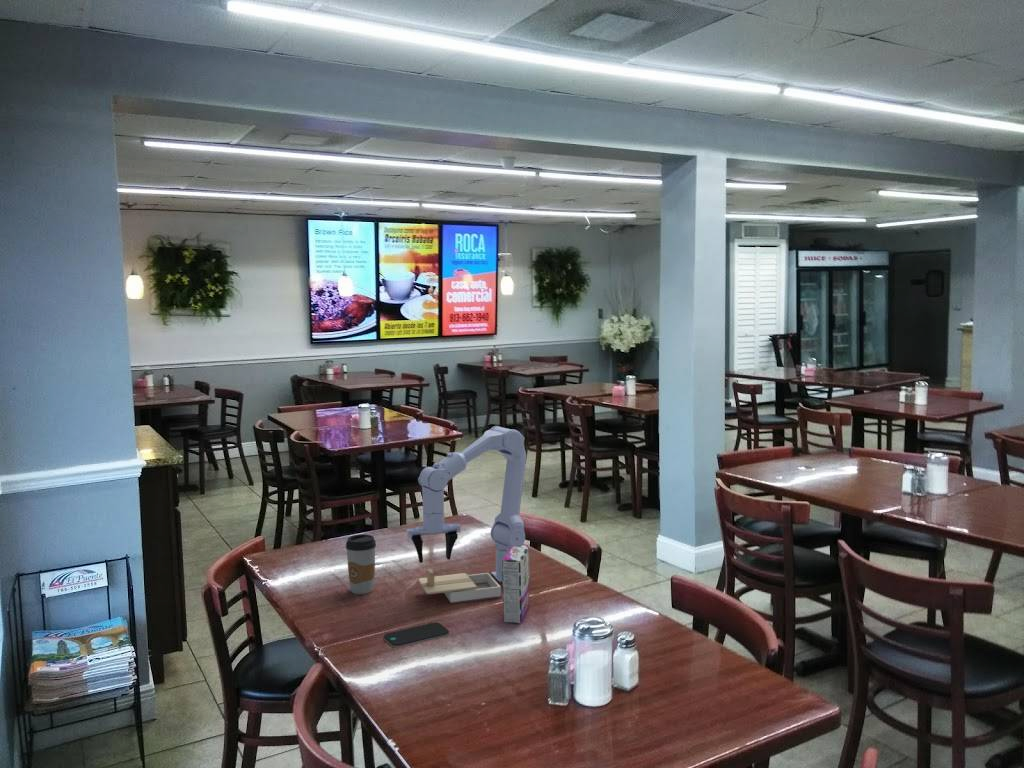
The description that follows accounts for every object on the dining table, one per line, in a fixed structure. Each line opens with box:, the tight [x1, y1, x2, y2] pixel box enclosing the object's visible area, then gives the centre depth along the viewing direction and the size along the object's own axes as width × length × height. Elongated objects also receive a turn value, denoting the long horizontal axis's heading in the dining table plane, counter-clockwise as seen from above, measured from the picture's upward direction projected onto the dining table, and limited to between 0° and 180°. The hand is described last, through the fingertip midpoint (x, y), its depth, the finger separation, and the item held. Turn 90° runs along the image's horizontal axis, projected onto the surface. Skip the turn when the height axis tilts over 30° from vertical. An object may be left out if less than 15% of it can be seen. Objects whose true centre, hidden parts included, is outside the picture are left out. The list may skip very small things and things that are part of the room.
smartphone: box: [383, 622, 450, 648], centre depth 190 cm, size 8×1×15 cm
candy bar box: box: [502, 546, 530, 624], centre depth 201 cm, size 11×5×16 cm, turn 168°
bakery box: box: [443, 572, 502, 605], centre depth 218 cm, size 14×12×3 cm
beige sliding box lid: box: [417, 568, 477, 595], centre depth 215 cm, size 14×12×4 cm
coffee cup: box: [345, 534, 377, 595], centre depth 220 cm, size 8×8×15 cm
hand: (434, 560), depth 216 cm, fingers open, 7 cm apart
